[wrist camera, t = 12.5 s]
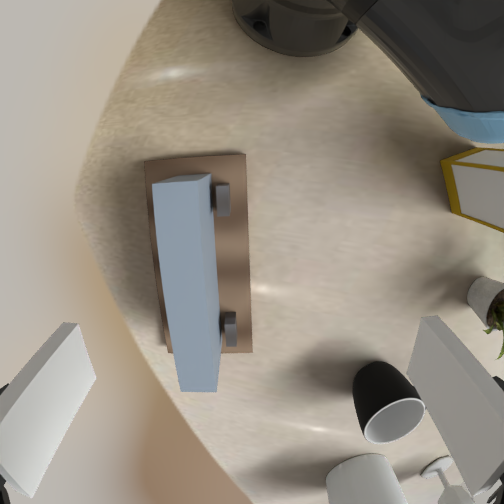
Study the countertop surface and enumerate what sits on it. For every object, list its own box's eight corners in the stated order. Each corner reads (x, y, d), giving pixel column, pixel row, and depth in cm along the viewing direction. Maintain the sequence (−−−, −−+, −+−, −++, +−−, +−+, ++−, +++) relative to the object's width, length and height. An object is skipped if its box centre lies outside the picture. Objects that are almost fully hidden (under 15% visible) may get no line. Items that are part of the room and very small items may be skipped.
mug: (337, 398, 45) (353, 446, 35) (356, 352, 42) (380, 399, 32) (401, 398, 45) (423, 439, 36) (422, 355, 43) (452, 394, 33)
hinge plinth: (148, 161, 34) (135, 162, 30) (245, 154, 34) (245, 154, 30) (170, 346, 41) (163, 366, 37) (252, 346, 41) (253, 366, 37)
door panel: (178, 175, 33) (151, 183, 24) (211, 173, 33) (197, 180, 24) (193, 339, 39) (180, 391, 29) (222, 339, 39) (216, 392, 29)
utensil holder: (317, 464, 50) (333, 539, 33) (391, 441, 49) (421, 510, 32) (326, 494, 54) (339, 557, 37) (389, 475, 53) (411, 534, 36)
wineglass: (414, 476, 55) (441, 540, 34) (439, 454, 52) (472, 519, 32) (434, 476, 56) (461, 534, 36) (458, 455, 54) (490, 513, 34)
